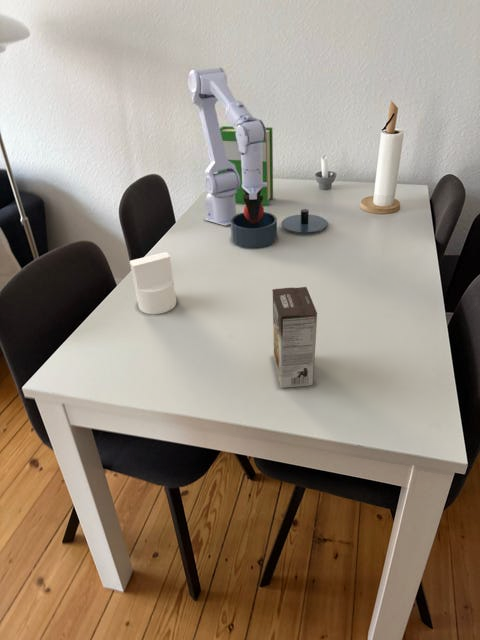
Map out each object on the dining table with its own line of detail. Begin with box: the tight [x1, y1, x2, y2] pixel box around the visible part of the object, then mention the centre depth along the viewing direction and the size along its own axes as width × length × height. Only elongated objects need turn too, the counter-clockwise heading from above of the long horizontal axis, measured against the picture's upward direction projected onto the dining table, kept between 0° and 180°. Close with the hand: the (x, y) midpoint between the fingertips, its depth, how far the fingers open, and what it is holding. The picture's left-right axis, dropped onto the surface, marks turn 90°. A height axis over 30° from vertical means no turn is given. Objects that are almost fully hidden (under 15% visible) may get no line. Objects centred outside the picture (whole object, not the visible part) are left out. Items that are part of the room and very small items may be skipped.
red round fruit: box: [243, 204, 265, 224], centre depth 136 cm, size 6×6×8 cm
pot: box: [230, 211, 278, 250], centre depth 140 cm, size 13×13×6 cm
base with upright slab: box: [129, 251, 177, 315], centre depth 110 cm, size 9×9×12 cm
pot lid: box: [280, 208, 329, 235], centre depth 146 cm, size 14×14×5 cm
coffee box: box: [271, 286, 318, 389], centre depth 86 cm, size 9×6×16 cm
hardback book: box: [217, 125, 274, 207], centre depth 162 cm, size 18×7×24 cm, turn 70°
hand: (253, 215), depth 137 cm, fingers closed on red round fruit, 6 cm apart
